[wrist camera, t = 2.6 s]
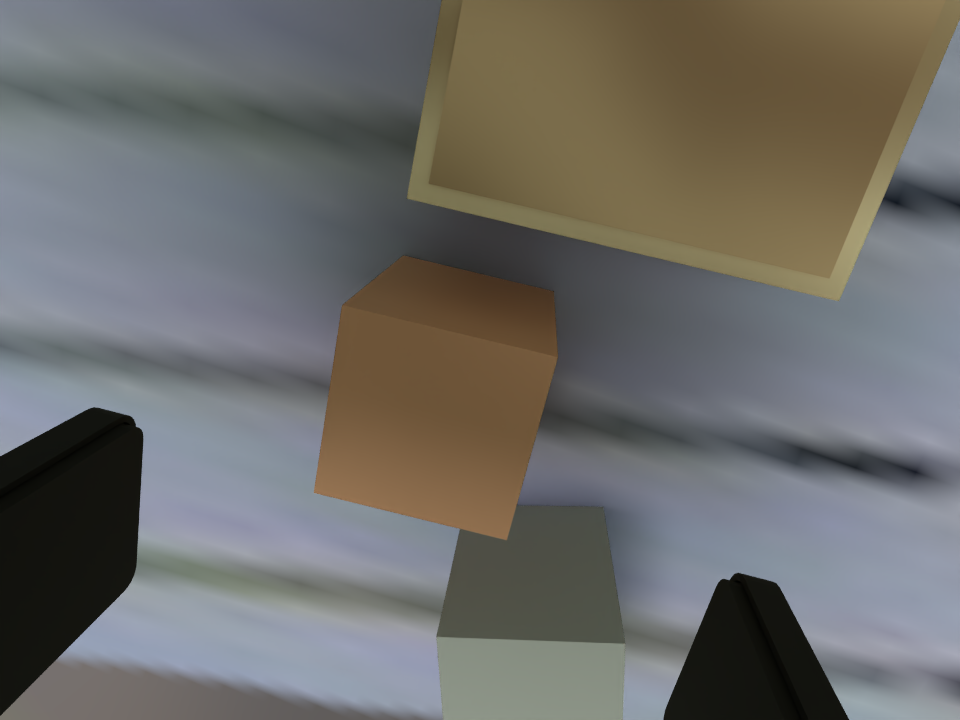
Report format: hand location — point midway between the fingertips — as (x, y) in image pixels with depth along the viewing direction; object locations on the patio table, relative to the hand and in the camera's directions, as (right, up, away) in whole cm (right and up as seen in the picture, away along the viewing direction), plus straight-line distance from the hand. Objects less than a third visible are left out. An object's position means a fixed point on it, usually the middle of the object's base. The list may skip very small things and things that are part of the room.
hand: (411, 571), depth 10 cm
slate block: (+3, -4, +11) cm, 12 cm away
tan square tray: (+5, +11, +6) cm, 14 cm away
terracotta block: (+1, +4, +9) cm, 10 cm away
